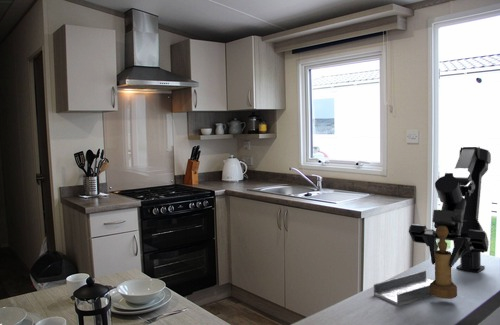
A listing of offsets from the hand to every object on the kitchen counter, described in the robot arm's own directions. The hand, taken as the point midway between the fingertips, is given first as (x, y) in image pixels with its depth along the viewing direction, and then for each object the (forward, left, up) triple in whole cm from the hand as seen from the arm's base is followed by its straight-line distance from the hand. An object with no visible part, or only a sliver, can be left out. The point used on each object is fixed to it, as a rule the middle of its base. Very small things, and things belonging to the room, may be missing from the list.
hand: (441, 265), depth 109 cm
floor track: (-3, -9, -10) cm, 14 cm away
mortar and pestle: (-1, 0, -8) cm, 8 cm away
